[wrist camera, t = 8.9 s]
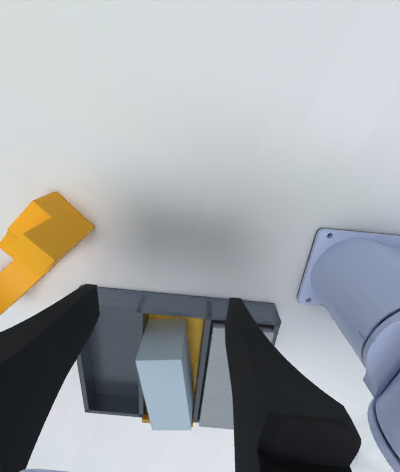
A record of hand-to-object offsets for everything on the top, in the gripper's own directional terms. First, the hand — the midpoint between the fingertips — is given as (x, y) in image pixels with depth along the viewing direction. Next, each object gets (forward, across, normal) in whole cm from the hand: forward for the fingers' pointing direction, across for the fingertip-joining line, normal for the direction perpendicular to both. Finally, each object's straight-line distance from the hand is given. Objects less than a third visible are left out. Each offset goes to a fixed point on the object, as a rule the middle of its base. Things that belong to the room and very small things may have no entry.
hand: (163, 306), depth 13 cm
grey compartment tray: (+10, 0, +15) cm, 18 cm away
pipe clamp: (+10, +14, +3) cm, 17 cm away
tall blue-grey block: (+9, 0, +14) cm, 17 cm away
